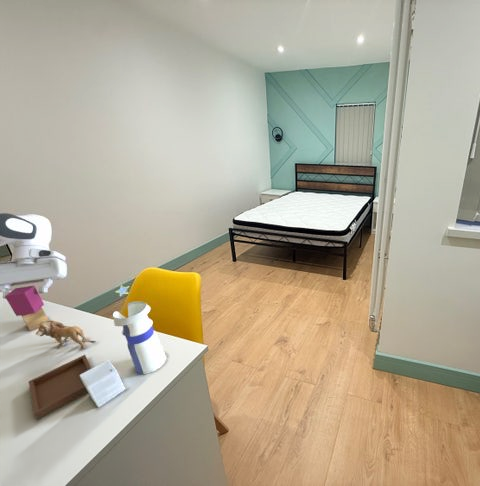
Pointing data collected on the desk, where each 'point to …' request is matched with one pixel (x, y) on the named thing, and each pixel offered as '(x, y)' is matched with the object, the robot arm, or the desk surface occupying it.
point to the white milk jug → (140, 336)
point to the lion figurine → (62, 332)
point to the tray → (58, 386)
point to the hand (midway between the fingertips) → (25, 295)
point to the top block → (24, 300)
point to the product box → (102, 382)
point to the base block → (35, 319)
